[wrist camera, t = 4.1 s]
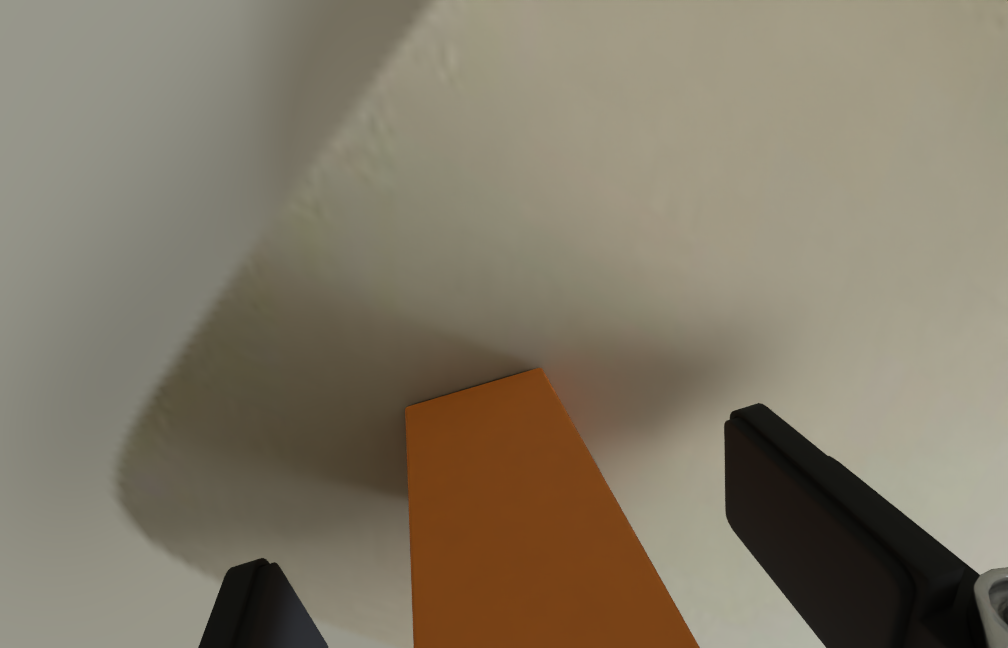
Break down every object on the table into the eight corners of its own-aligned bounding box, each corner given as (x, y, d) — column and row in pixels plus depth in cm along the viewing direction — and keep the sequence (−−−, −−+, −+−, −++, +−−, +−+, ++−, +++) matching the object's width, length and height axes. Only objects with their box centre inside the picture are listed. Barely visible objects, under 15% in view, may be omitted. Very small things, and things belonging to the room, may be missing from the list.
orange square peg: (441, 508, 13) (486, 883, 7) (404, 406, 11) (416, 765, 5) (563, 470, 13) (713, 795, 7) (541, 365, 12) (708, 659, 6)
